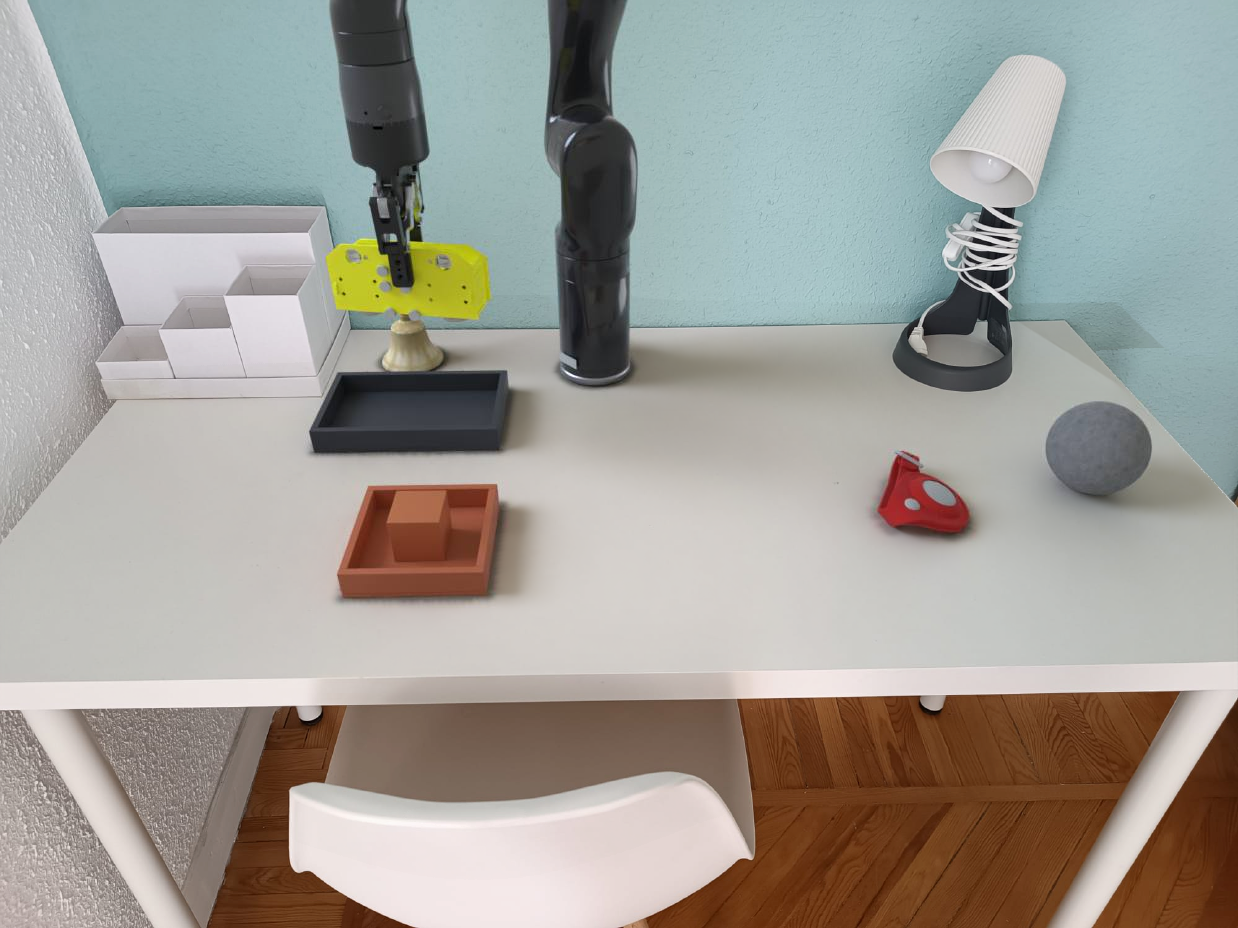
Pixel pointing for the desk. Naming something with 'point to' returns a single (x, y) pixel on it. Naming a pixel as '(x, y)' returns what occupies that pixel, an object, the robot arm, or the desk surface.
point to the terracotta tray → (459, 575)
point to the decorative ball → (1098, 447)
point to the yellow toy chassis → (441, 288)
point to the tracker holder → (920, 498)
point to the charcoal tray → (412, 411)
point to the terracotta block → (420, 526)
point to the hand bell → (411, 347)
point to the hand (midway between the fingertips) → (409, 272)
